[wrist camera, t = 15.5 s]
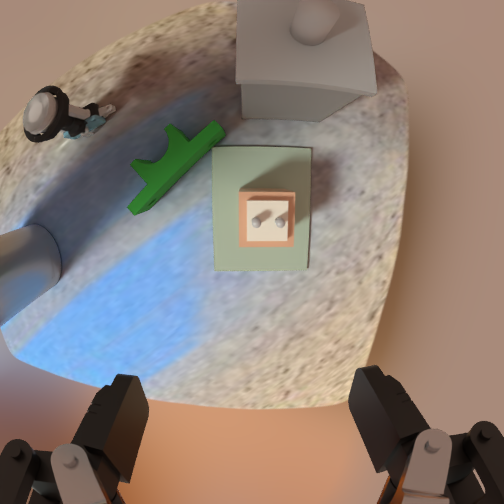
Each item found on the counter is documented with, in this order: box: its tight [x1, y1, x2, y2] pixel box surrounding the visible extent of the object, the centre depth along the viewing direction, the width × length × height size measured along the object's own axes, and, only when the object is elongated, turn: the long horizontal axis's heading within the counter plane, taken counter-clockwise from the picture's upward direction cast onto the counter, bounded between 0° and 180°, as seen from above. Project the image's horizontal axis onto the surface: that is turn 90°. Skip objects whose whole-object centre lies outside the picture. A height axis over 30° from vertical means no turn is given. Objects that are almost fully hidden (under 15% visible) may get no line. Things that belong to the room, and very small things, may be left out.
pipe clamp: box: [127, 120, 226, 216], centre depth 24 cm, size 11×4×5 cm, turn 132°
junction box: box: [236, 0, 377, 122], centre depth 17 cm, size 9×8×16 cm
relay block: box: [239, 188, 295, 247], centre depth 24 cm, size 4×4×8 cm
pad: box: [212, 147, 311, 271], centre depth 28 cm, size 10×13×1 cm
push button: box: [23, 86, 116, 143], centre depth 20 cm, size 7×5×10 cm
